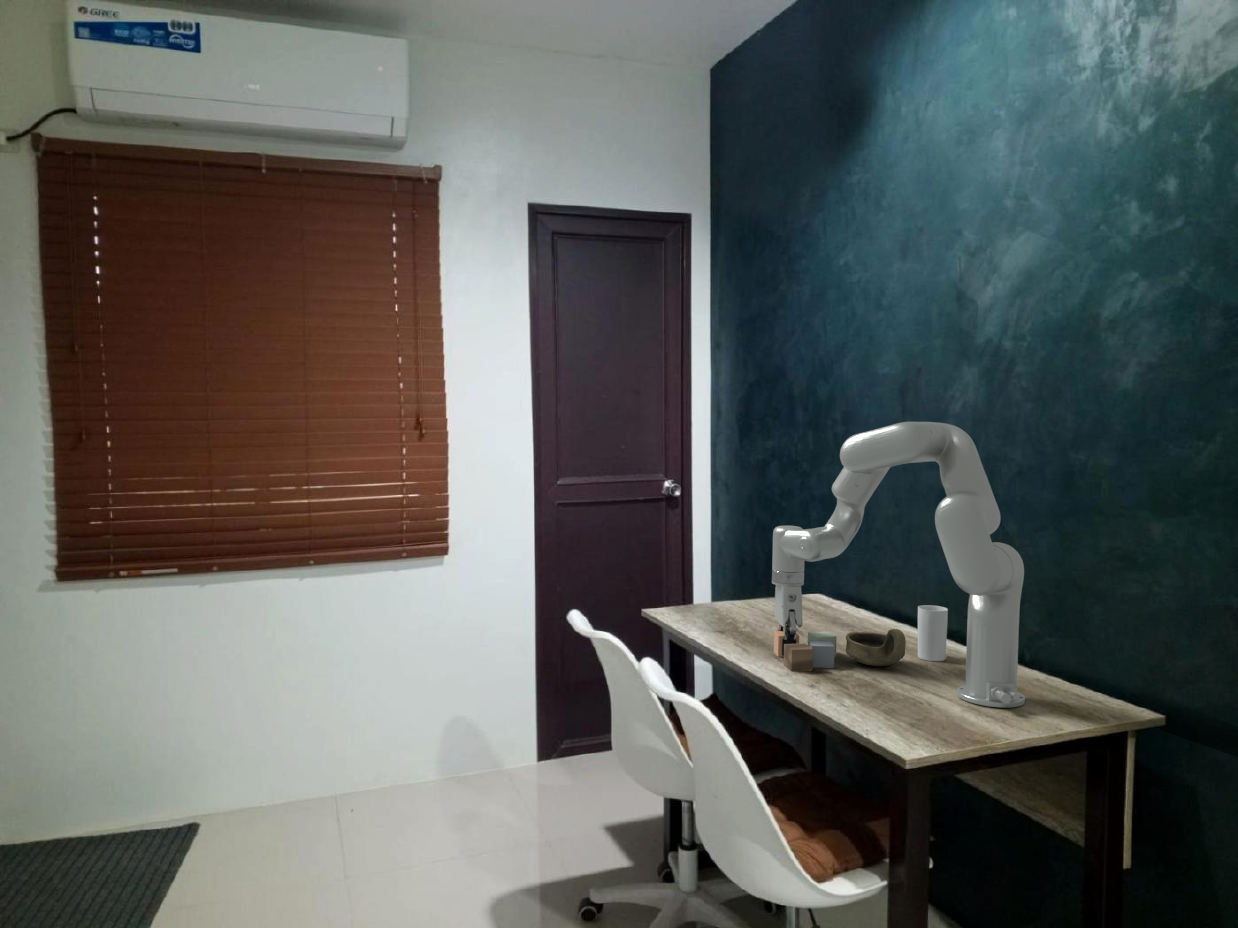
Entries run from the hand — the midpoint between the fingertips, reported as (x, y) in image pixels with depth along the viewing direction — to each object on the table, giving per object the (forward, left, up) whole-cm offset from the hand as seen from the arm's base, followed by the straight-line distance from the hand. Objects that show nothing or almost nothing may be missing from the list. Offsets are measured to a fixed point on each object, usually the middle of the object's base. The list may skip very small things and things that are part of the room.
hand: (786, 651), depth 208 cm
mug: (-1, -34, -1) cm, 34 cm away
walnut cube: (-12, 0, -1) cm, 12 cm away
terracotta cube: (0, 0, -1) cm, 1 cm away
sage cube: (0, -9, -1) cm, 9 cm away
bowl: (-10, -19, -1) cm, 22 cm away
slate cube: (-9, -6, -1) cm, 11 cm away
